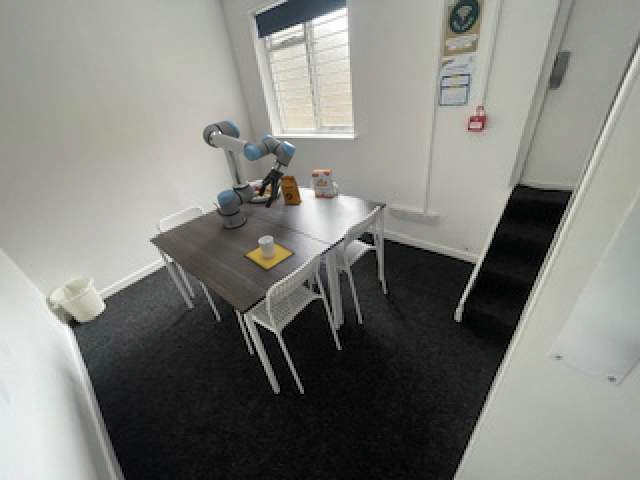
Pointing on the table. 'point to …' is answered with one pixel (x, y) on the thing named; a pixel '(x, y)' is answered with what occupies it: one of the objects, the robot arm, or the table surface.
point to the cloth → (269, 262)
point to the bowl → (265, 195)
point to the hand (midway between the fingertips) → (263, 201)
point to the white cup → (267, 246)
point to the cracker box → (323, 183)
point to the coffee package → (290, 190)
